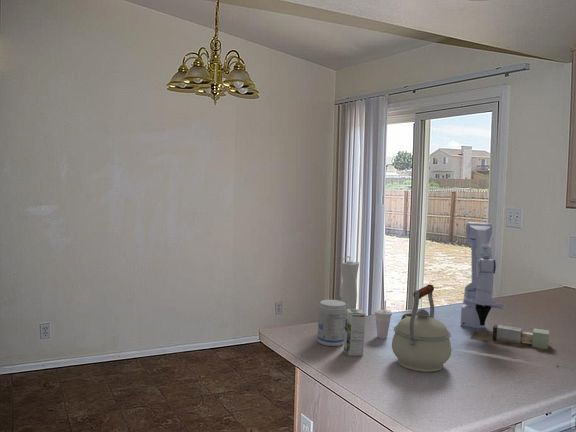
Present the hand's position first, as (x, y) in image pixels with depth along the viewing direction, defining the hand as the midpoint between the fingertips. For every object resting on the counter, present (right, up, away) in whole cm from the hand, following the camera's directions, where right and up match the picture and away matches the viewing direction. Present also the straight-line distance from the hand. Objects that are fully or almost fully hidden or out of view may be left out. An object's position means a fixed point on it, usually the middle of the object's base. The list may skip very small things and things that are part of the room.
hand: (482, 325), depth 191 cm
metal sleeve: (+8, -5, -5) cm, 10 cm away
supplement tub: (-59, -4, -12) cm, 60 cm away
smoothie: (-39, -4, -2) cm, 39 cm away
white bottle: (-51, -3, +11) cm, 52 cm away
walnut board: (+8, -6, -5) cm, 11 cm away
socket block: (+17, -6, -10) cm, 20 cm away
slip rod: (+11, -5, -6) cm, 14 cm away
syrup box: (-52, -5, -22) cm, 57 cm away
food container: (-27, -5, -7) cm, 28 cm away
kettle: (-31, -6, -30) cm, 43 cm away
